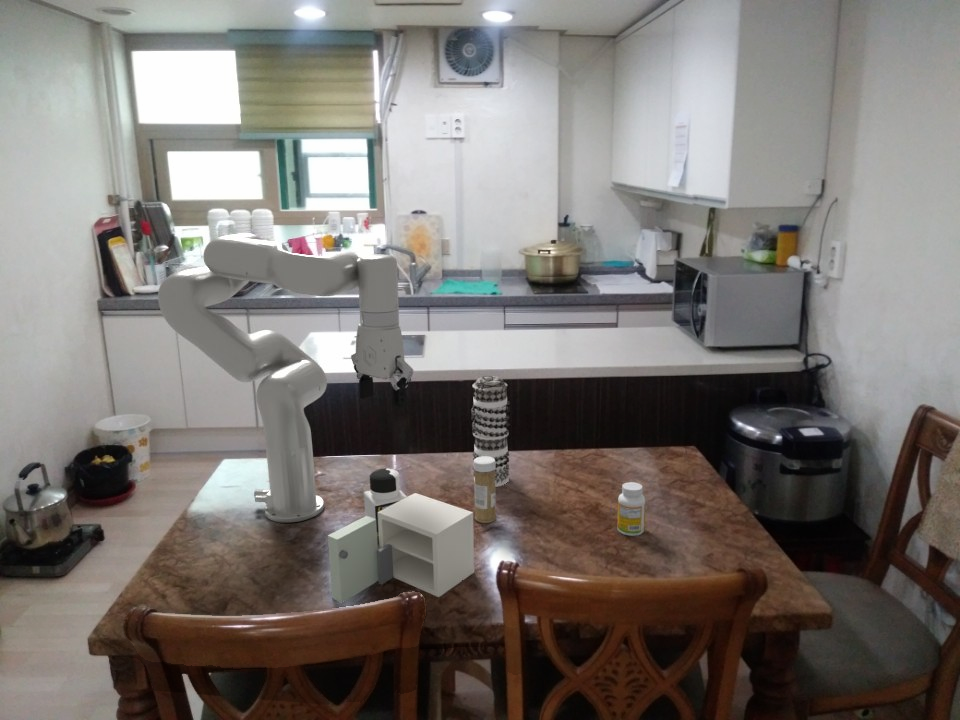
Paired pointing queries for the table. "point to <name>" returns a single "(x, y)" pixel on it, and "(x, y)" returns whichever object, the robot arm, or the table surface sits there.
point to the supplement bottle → (631, 509)
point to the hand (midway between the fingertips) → (382, 402)
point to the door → (353, 558)
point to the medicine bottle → (382, 492)
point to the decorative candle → (491, 424)
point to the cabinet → (425, 544)
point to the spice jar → (485, 489)
